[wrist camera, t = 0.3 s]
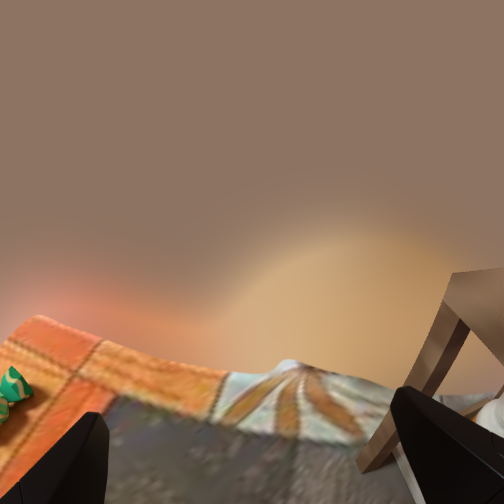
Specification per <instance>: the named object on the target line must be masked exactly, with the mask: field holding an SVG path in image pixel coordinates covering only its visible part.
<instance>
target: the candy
mask: <svg viewBox="0 0 504 504" xmlns="http://www.w3.org/2000/svg"><path fill="white" fill-rule="evenodd" d="M32 395H34V394H33V390H32V389H31V387H30V386H29V385H28V383H27V382H26V381H25V379H24V378H23V377H22V375H21V374H20V373H19V372H18V371H17V370H16V369H15V368H14V367H13V366H11V367H10V368H9V369H8V371H7V372H6V373H5V374H4V376H3V377H2V381H1V386H0V425H1V424H2V423H3V422H4V421H5V420H6V419H7V418H8V417H9V407H8V403H11V402H17V401H21V400H24V399H26V398H28V397H30V396H32Z"/></svg>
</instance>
